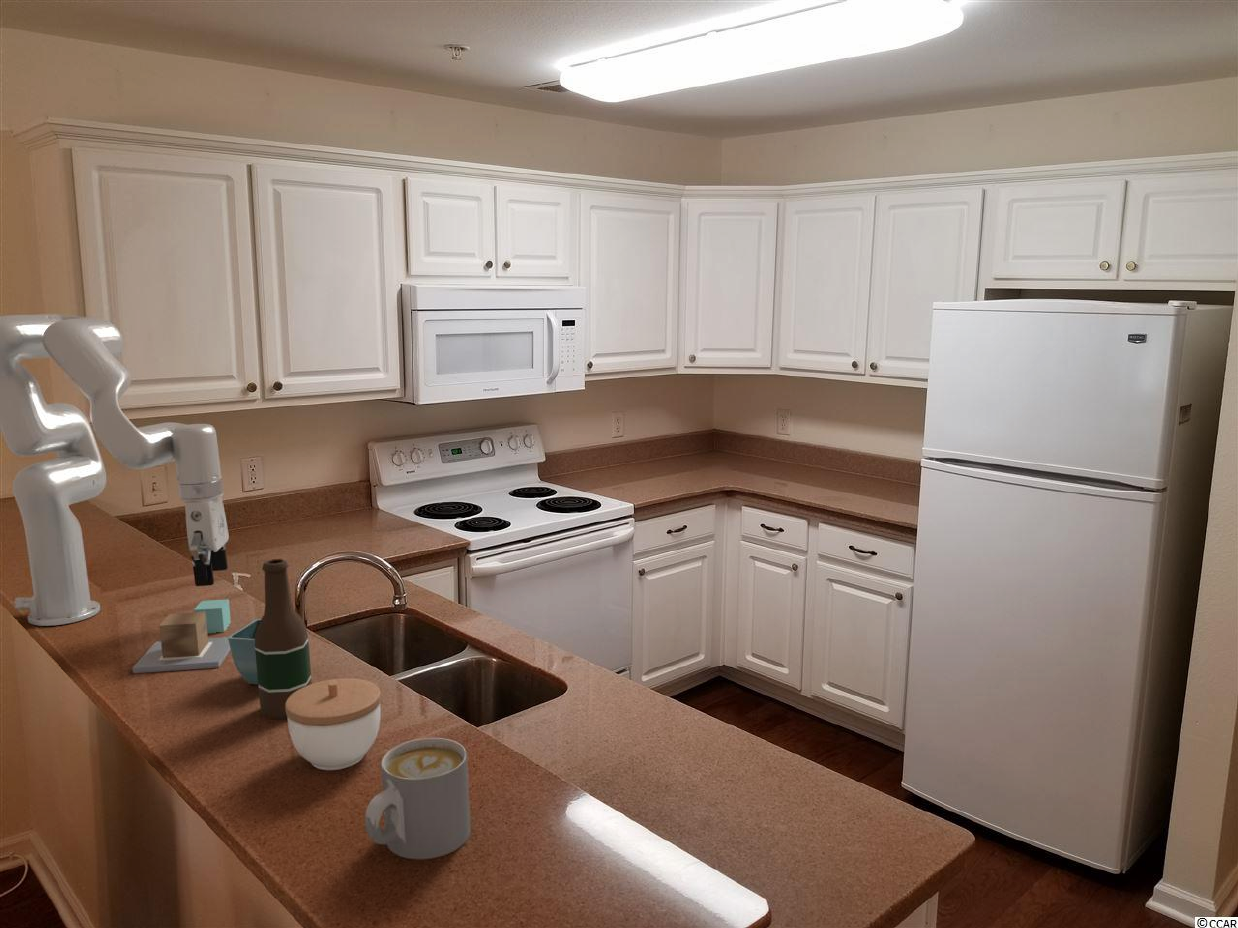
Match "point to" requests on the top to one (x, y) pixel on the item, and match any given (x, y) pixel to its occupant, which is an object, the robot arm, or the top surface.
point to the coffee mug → (422, 799)
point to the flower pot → (245, 651)
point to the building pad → (184, 658)
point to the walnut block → (183, 634)
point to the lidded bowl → (334, 721)
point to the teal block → (215, 614)
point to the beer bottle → (280, 644)
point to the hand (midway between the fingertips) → (212, 577)
